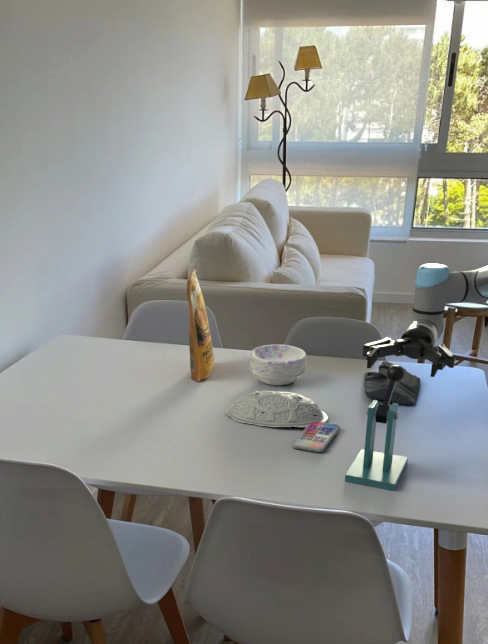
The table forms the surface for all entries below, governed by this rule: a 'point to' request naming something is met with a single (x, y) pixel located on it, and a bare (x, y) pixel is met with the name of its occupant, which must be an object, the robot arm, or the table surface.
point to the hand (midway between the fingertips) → (400, 366)
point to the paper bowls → (277, 363)
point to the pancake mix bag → (199, 332)
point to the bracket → (378, 455)
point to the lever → (389, 393)
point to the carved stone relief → (276, 409)
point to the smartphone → (316, 436)
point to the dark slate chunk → (402, 392)
